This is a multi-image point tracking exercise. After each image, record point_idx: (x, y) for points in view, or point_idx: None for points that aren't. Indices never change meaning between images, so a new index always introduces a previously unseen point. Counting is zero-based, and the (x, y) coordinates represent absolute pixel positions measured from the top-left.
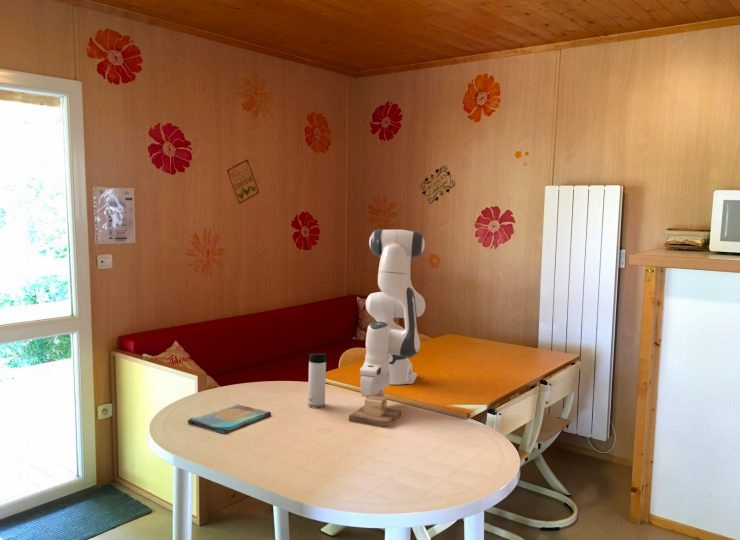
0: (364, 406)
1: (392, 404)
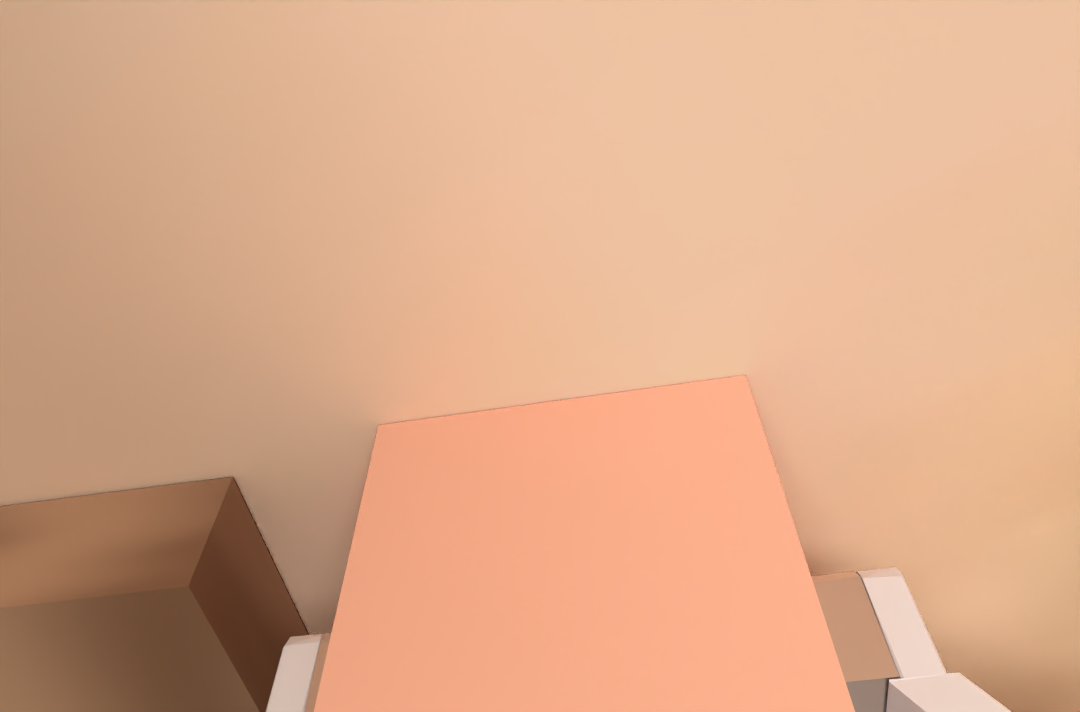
0: (56, 632)
1: (1014, 663)
